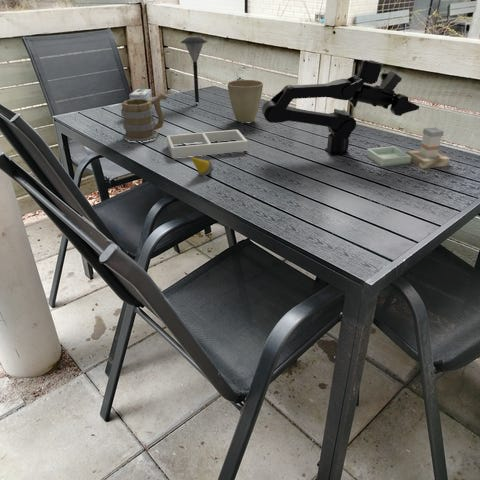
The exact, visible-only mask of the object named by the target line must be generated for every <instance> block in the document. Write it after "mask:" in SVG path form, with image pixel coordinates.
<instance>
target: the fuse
mask: <svg viewBox="0 0 480 480" xmlns="http://www.w3.org/2000/svg"><path fill="white" fill-rule="evenodd" d="M422 133H423V135H422V139H421V143H420V149H419V150H420V153H419V155H420V156H422V157H424V158H425V159H428V158H436V157H437V154H438V152H439V150H440V145H441V141H442V137H443V136H444V133H445V131H444V130H442V129H440V128H437V127H427V128H426V127H425V128H423V131H422Z"/></svg>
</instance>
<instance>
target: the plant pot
mask: <svg viewBox="0 0 480 480" xmlns="http://www.w3.org/2000/svg"><path fill="white" fill-rule="evenodd" d="M263 88H264V82H263V81H260V80H254V79H237V80H231V81H228V82H227V91H228V96H229V100H230V104H231V108H232V111H233V114H234V115H233V116H234V117H235V120H236V122H237V121H239V122H243V123H247V122H252V123H254V122H255V119H256V116H257V114H258V111H259V107H260V104H261V98H262V95H263V94H262V93H263ZM253 121H254V122H253ZM243 123H242V124H243Z"/></svg>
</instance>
